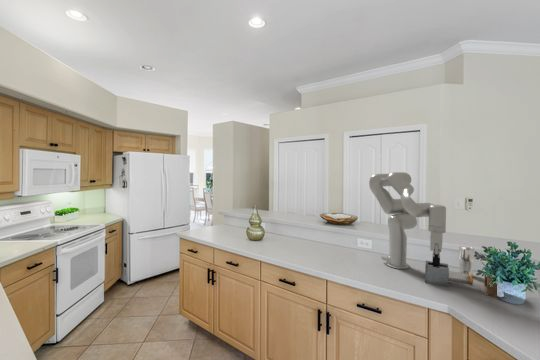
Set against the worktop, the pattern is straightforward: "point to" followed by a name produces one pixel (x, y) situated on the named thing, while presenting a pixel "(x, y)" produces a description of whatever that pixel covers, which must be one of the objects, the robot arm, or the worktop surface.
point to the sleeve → (437, 274)
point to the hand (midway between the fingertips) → (436, 263)
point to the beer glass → (466, 259)
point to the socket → (490, 290)
